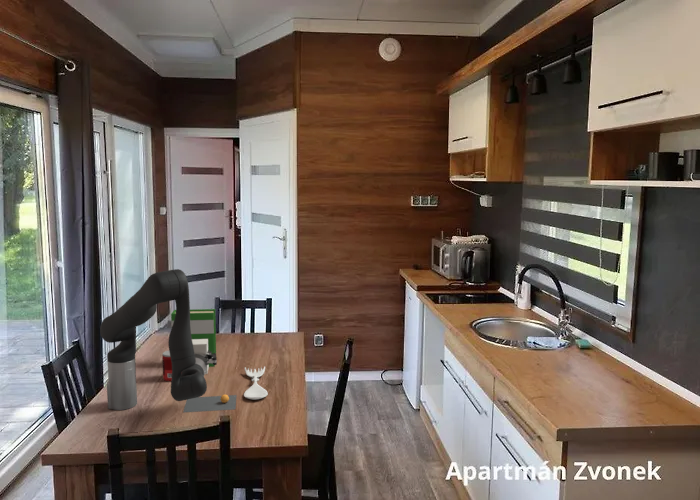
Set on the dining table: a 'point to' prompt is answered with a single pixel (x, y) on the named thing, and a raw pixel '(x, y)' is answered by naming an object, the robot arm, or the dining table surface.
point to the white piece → (255, 385)
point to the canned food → (167, 366)
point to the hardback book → (202, 326)
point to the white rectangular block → (201, 348)
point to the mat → (210, 403)
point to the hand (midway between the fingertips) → (198, 353)
